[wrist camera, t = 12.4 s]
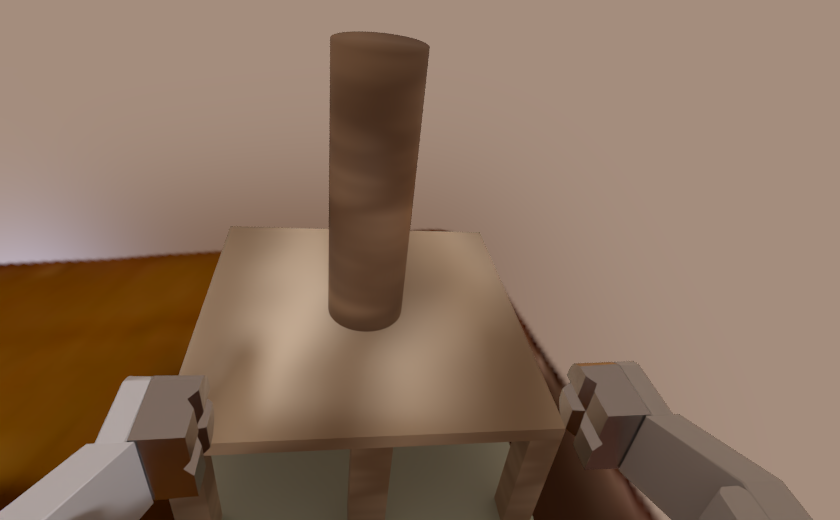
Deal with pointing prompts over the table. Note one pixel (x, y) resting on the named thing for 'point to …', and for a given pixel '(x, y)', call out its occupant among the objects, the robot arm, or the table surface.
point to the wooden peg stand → (369, 316)
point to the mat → (328, 483)
